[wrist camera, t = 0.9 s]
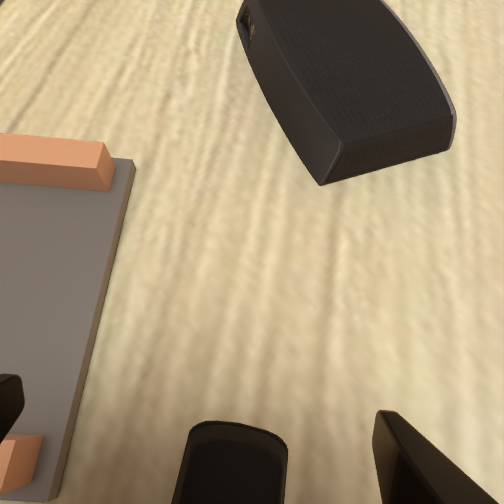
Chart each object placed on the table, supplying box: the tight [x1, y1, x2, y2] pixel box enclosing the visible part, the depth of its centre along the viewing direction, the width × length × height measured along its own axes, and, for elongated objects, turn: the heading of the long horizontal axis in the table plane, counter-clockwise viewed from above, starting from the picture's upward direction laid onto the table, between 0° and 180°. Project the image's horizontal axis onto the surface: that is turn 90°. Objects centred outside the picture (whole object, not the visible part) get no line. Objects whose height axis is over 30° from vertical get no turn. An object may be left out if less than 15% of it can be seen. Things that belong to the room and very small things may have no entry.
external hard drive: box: [236, 0, 457, 185], centre depth 29 cm, size 13×19×4 cm
